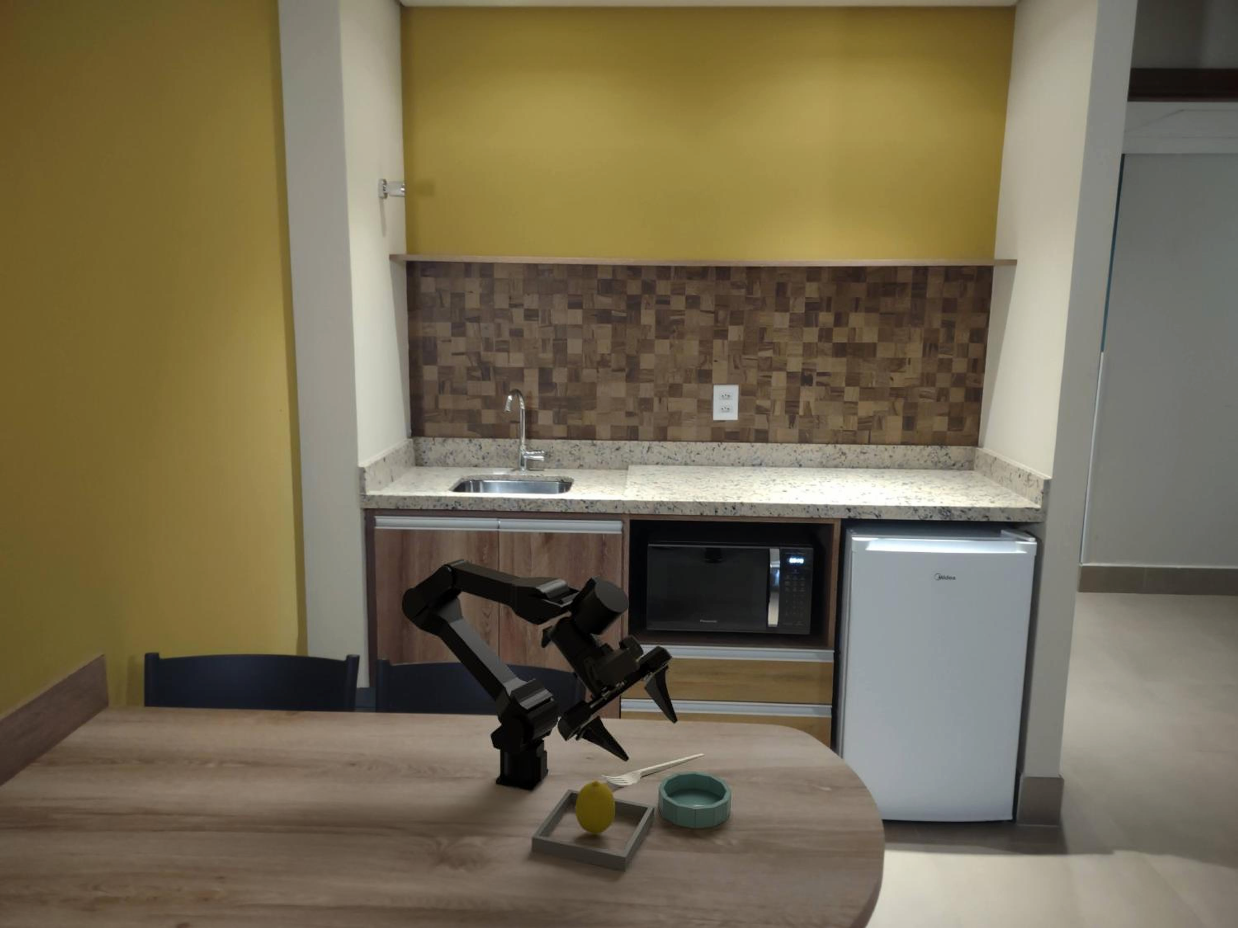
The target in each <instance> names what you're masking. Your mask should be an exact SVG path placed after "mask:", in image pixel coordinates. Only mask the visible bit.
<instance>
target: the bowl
mask: <svg viewBox="0 0 1238 928" xmlns="http://www.w3.org/2000/svg"><path fill="white" fill-rule="evenodd" d="M658 786H659V787H658V798H657V799H658V800H657V802H658V803H657V808H658V809H659V812H660V814H661V816H662V817H663V818H664V819H666V820H667V821H669V822H671V823H673V824H674V825H677V826H682V827H685V828H691V829H703V828H713V827H716V826H717V825H720V824H721V823H723V822H725V821H727V820H728V818H729V815H730V813H731V811H732V810H731V809H732V807H731V806H732V790H731V788H730V787H729V785H728V783H727V782H726V781H725V780H723V779H721V778H719V776H718V777H717V776H715V775H714V774H712V773H711V774H710V773H705V772H701V771H700V772H699V771H683V772H682V771H681V772H675V773H673V774H671V775H669V776H667V777H664V778H663V779H662V781H661V783H660V784H659V785H658Z"/></svg>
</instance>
